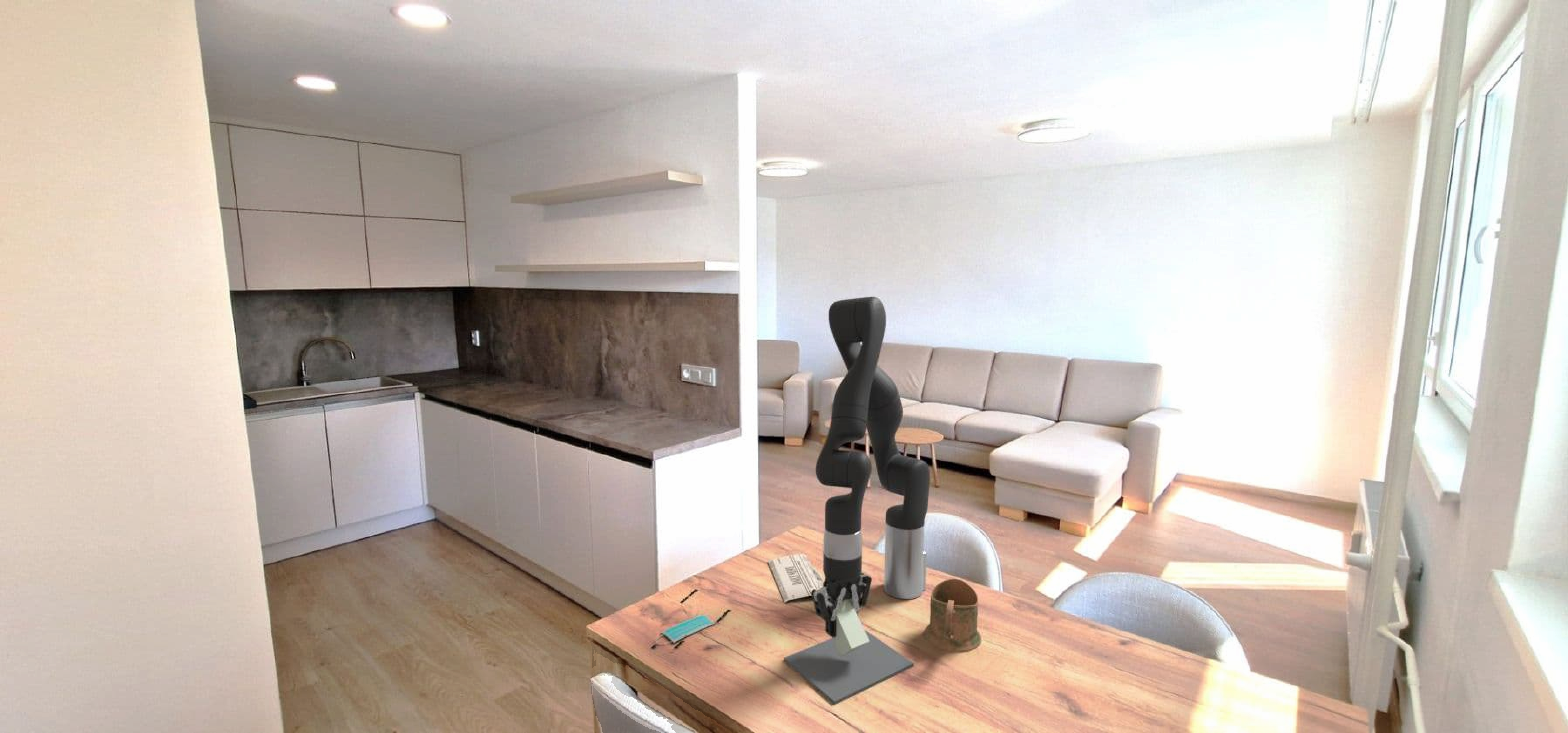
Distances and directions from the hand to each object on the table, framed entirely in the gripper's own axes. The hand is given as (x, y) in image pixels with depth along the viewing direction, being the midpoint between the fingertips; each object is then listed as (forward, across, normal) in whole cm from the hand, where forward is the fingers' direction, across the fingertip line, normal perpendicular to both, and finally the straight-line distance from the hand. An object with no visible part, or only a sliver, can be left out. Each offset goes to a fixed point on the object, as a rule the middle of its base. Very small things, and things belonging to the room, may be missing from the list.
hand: (841, 631), depth 129 cm
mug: (+6, -22, +9) cm, 25 cm away
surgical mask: (+7, +20, -27) cm, 34 cm away
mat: (+6, 0, +2) cm, 6 cm away
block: (+2, 0, +4) cm, 4 cm away
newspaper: (+7, -13, -32) cm, 36 cm away
